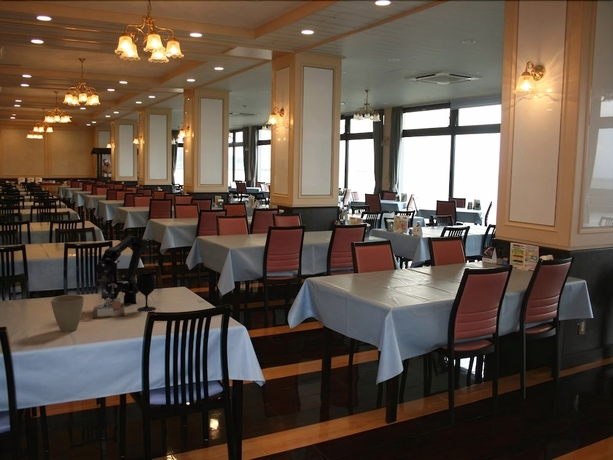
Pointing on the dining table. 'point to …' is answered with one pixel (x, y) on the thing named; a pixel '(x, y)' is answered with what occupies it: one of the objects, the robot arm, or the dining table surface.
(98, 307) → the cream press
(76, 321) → the plant pot
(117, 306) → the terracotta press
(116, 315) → the walnut board
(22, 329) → the dining table surface
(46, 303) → the dining table surface
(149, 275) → the wine glass
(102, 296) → the black plunger
